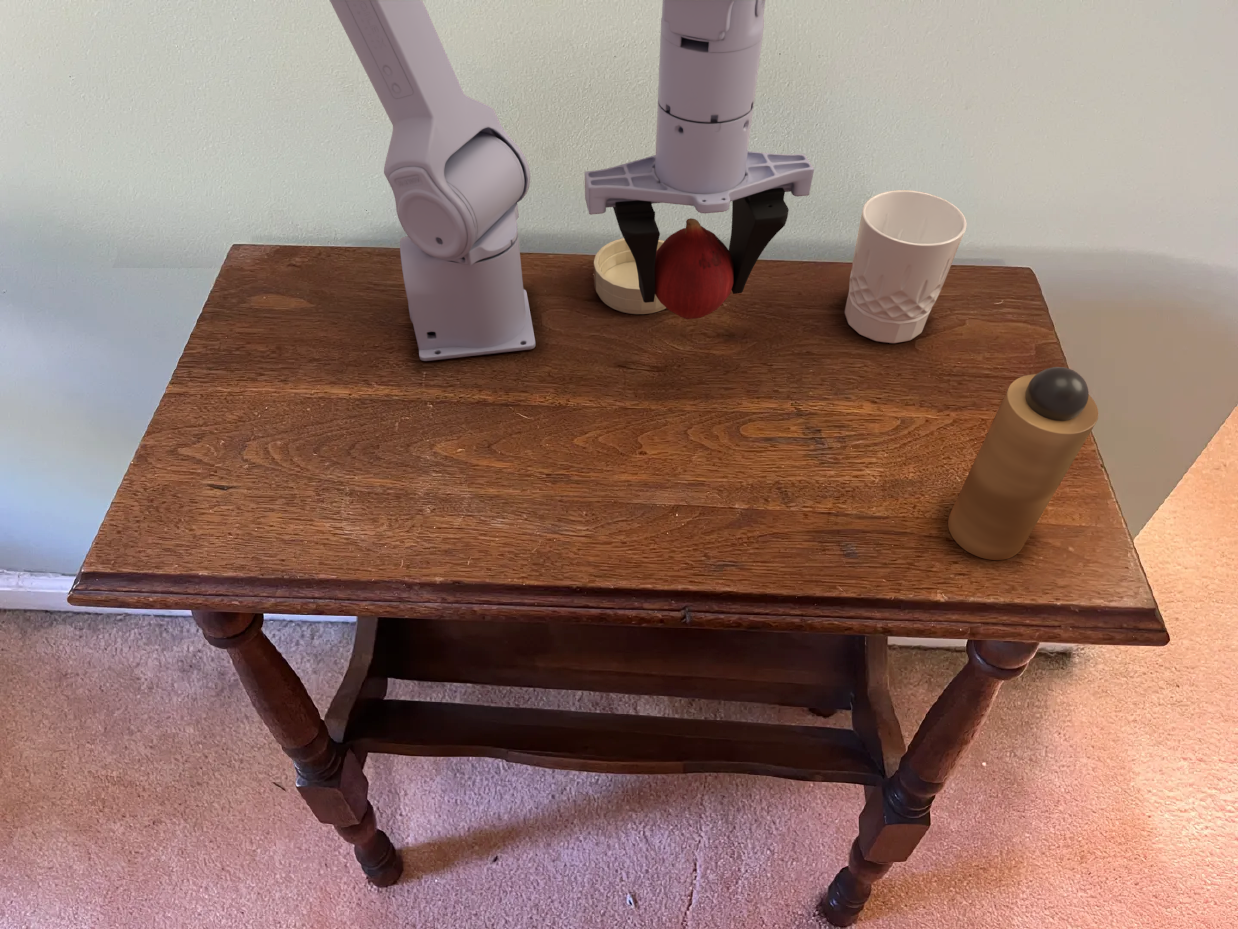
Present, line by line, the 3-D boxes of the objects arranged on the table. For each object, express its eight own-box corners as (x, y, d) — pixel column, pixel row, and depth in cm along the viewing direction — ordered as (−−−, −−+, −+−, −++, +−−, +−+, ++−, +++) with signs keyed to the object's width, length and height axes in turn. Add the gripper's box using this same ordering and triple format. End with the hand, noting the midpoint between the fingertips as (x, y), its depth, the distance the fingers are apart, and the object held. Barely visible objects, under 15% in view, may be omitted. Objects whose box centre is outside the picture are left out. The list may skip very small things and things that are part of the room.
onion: (729, 295, 64) (741, 199, 58) (727, 344, 60) (740, 247, 54) (652, 290, 64) (656, 194, 59) (645, 338, 61) (649, 241, 55)
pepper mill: (967, 565, 56) (1049, 410, 45) (935, 507, 59) (1004, 350, 49) (1037, 554, 56) (1134, 399, 46) (1002, 497, 60) (1084, 340, 49)
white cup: (819, 306, 74) (841, 204, 67) (890, 282, 77) (919, 180, 69) (877, 359, 70) (908, 255, 62) (950, 331, 72) (989, 228, 65)
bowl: (602, 320, 73) (602, 293, 71) (588, 267, 78) (587, 240, 76) (691, 310, 74) (694, 283, 72) (672, 258, 79) (673, 232, 77)
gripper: (595, 142, 47) (598, 335, 57) (845, 123, 49) (805, 313, 59) (577, 86, 52) (583, 274, 62) (806, 71, 53) (775, 255, 63)
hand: (689, 289), depth 61 cm, fingers closed on onion, 6 cm apart
